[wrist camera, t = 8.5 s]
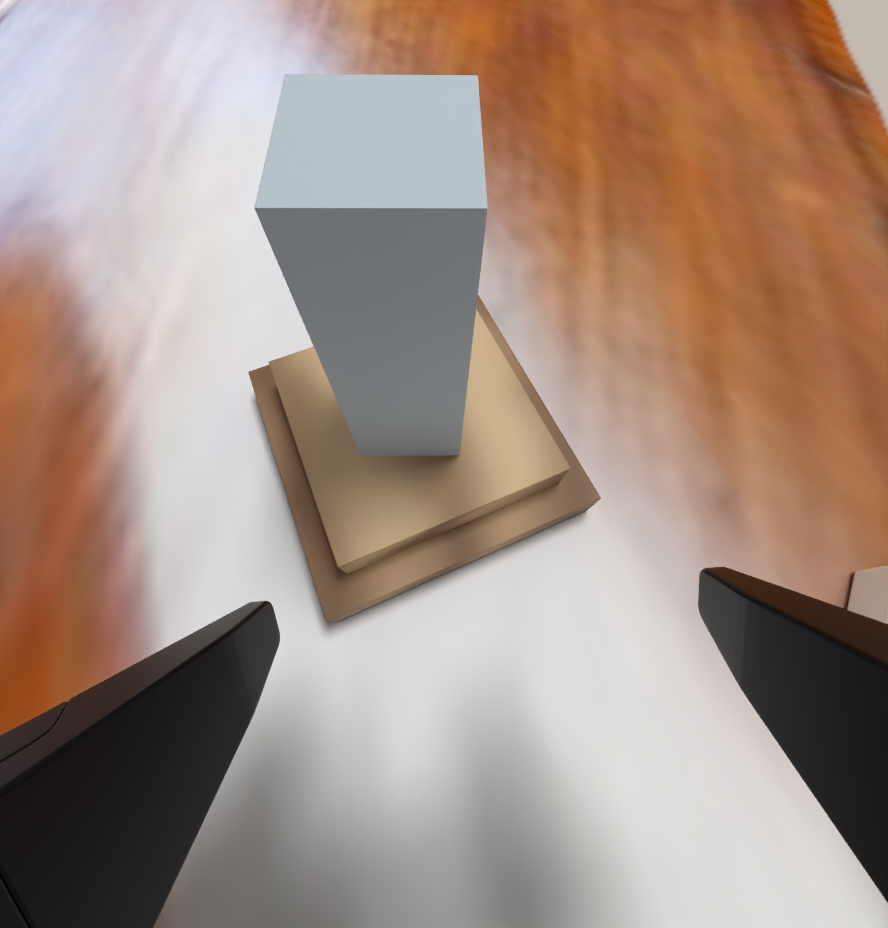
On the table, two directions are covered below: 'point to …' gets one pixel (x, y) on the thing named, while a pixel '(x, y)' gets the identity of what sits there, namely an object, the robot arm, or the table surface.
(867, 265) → the table surface
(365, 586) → the plinth
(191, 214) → the table surface
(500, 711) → the table surface
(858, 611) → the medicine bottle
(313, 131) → the block
